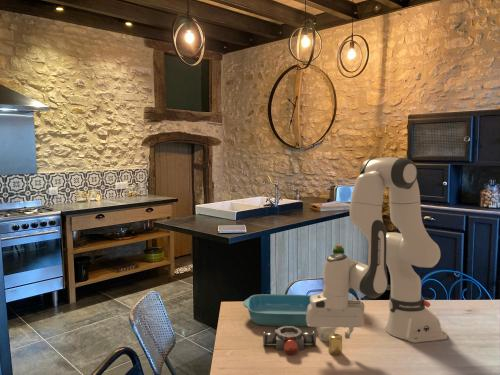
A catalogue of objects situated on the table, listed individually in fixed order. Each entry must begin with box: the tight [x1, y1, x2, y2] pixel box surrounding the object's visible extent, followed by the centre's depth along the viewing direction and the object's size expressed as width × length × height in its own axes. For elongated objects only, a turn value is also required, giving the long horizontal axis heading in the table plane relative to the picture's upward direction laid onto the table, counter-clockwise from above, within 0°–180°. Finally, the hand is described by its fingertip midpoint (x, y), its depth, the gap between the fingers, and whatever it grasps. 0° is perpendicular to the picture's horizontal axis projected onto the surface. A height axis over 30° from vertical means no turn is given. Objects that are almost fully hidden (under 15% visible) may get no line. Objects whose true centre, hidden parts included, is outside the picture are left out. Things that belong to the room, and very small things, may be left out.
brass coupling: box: [328, 333, 343, 357], centre depth 143 cm, size 5×5×6 cm
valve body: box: [262, 326, 317, 356], centre depth 147 cm, size 19×12×5 cm, turn 90°
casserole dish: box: [242, 293, 312, 327], centre depth 173 cm, size 37×22×7 cm, turn 88°
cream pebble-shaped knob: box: [318, 327, 336, 343], centre depth 154 cm, size 6×6×5 cm
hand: (334, 338), depth 142 cm, fingers open, 8 cm apart
